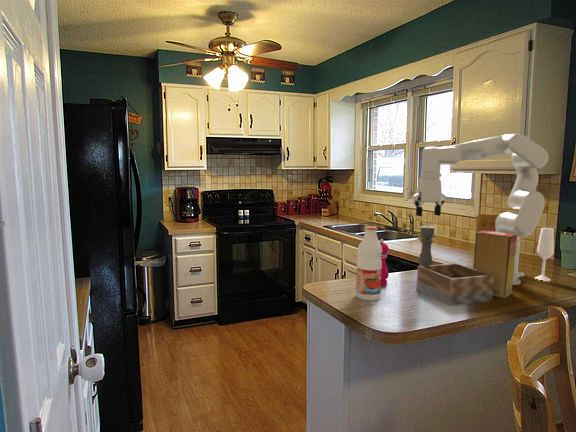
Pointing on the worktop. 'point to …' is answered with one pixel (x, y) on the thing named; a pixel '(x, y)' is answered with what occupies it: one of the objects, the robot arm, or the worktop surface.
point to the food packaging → (496, 259)
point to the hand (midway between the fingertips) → (428, 215)
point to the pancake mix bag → (486, 222)
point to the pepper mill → (384, 263)
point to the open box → (455, 283)
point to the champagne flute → (545, 249)
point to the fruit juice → (369, 266)
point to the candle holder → (426, 246)
